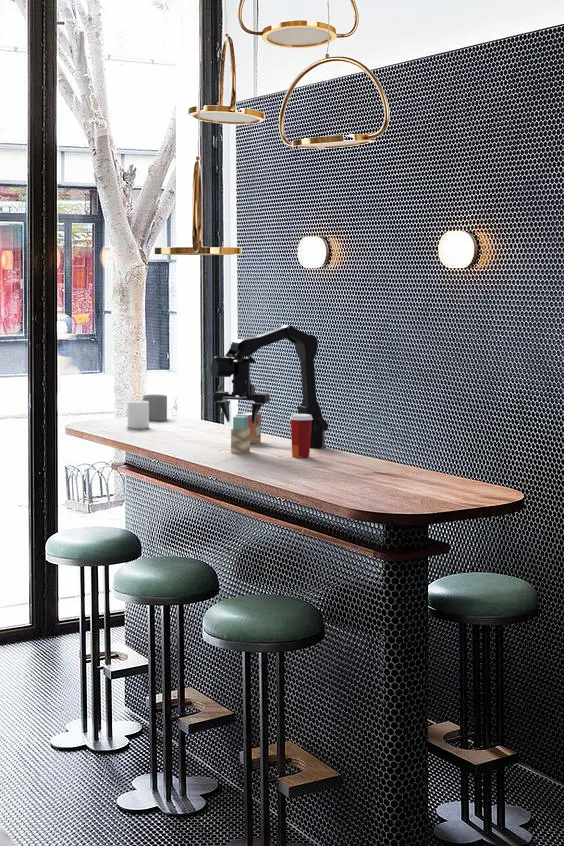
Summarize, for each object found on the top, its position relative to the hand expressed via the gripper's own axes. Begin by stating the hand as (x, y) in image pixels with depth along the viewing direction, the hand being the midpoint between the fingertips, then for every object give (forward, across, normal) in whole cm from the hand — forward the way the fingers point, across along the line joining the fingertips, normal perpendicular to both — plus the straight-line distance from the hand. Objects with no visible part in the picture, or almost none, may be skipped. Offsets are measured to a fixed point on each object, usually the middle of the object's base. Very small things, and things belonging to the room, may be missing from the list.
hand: (240, 422), depth 363 cm
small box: (+10, +5, -22) cm, 25 cm away
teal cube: (+2, 0, 0) cm, 2 cm away
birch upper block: (+6, 0, 0) cm, 6 cm away
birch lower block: (+10, 0, 0) cm, 10 cm away
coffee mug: (+10, +65, -71) cm, 97 cm away
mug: (+10, +60, -44) cm, 75 cm away
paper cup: (+10, -22, +2) cm, 24 cm away
